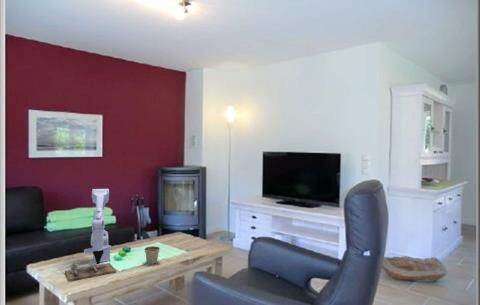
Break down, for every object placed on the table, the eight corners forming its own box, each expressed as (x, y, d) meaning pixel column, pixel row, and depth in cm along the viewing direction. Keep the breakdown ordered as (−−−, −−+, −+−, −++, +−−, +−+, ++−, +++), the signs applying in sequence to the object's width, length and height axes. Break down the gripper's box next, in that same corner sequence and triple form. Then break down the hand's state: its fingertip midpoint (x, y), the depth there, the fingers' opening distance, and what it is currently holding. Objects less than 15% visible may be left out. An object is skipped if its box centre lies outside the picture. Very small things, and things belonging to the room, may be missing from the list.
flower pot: (158, 259, 221) (158, 245, 220) (160, 264, 212) (161, 250, 212) (143, 260, 217) (143, 246, 217) (144, 265, 208) (145, 251, 208)
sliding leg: (95, 265, 202) (95, 260, 202) (98, 270, 195) (98, 264, 195) (89, 266, 200) (89, 261, 200) (92, 271, 193) (93, 265, 193)
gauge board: (109, 264, 209) (109, 255, 208) (116, 272, 197) (116, 262, 197) (64, 273, 195) (64, 263, 195) (69, 281, 183) (69, 271, 183)
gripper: (86, 243, 193) (85, 268, 193) (113, 240, 201) (112, 263, 202) (83, 240, 199) (83, 264, 199) (109, 237, 207) (109, 259, 208)
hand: (97, 263), depth 201 cm, fingers closed
